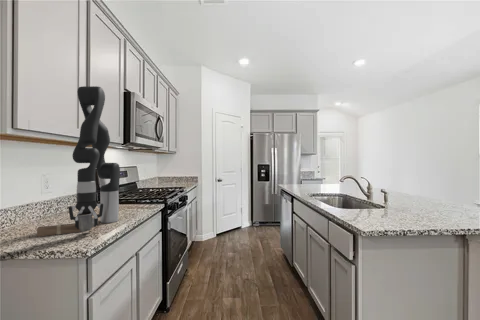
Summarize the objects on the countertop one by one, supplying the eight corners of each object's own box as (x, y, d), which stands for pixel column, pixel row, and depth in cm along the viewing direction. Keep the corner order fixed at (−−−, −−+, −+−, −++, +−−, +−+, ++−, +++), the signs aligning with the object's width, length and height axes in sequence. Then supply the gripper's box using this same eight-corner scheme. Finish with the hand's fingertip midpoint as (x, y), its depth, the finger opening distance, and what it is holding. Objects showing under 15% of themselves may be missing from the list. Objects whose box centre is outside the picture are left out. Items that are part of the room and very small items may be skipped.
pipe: (101, 225, 123) (101, 209, 123) (86, 233, 110) (87, 215, 110) (88, 225, 123) (88, 209, 123) (72, 233, 110) (72, 215, 110)
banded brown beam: (38, 234, 116) (38, 226, 116) (88, 228, 127) (88, 221, 127) (36, 236, 113) (36, 228, 113) (88, 230, 123) (88, 223, 123)
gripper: (103, 189, 122) (103, 223, 123) (68, 191, 115) (68, 227, 115) (104, 191, 116) (104, 227, 116) (66, 193, 109) (67, 231, 109)
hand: (86, 227), depth 116 cm, fingers closed on pipe, 6 cm apart
